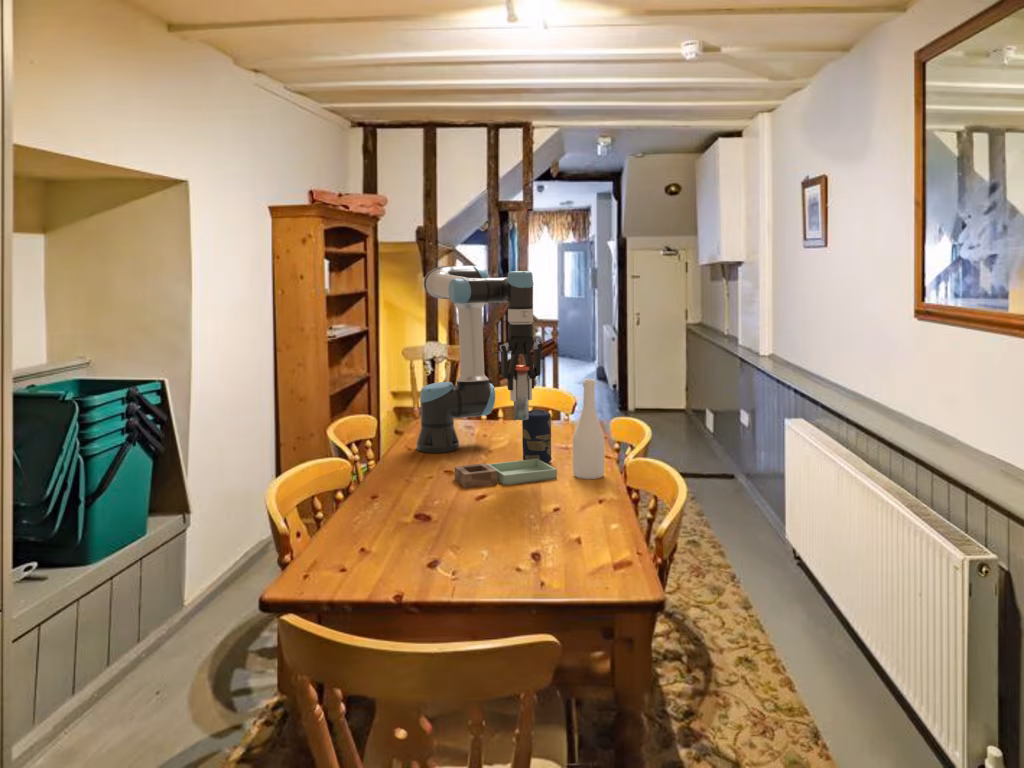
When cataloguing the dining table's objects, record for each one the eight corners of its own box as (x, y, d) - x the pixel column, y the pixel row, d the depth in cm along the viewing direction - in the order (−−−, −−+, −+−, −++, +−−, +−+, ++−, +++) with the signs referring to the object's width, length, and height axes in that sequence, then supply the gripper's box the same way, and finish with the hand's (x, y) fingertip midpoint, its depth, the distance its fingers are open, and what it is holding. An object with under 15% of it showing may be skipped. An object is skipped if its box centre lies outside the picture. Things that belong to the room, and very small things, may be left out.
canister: (548, 467, 240) (548, 412, 237) (520, 465, 242) (519, 411, 239) (553, 459, 249) (553, 407, 247) (525, 458, 251) (525, 406, 249)
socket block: (454, 479, 227) (454, 466, 226) (485, 475, 231) (485, 463, 230) (465, 488, 218) (465, 474, 217) (497, 484, 221) (497, 471, 221)
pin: (509, 417, 228) (508, 365, 226) (526, 416, 231) (525, 364, 228) (516, 421, 223) (515, 367, 221) (533, 419, 225) (533, 366, 223)
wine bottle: (566, 476, 229) (567, 379, 225) (585, 470, 236) (586, 376, 232) (591, 481, 223) (592, 382, 218) (610, 475, 230) (611, 379, 225)
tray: (487, 473, 233) (487, 464, 233) (537, 467, 239) (537, 458, 239) (504, 485, 220) (504, 475, 220) (556, 478, 226) (556, 469, 226)
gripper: (497, 324, 216) (498, 404, 219) (552, 322, 222) (552, 399, 226) (488, 323, 223) (489, 400, 226) (542, 321, 229) (542, 396, 233)
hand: (521, 399), depth 226 cm, fingers closed on pin, 4 cm apart
